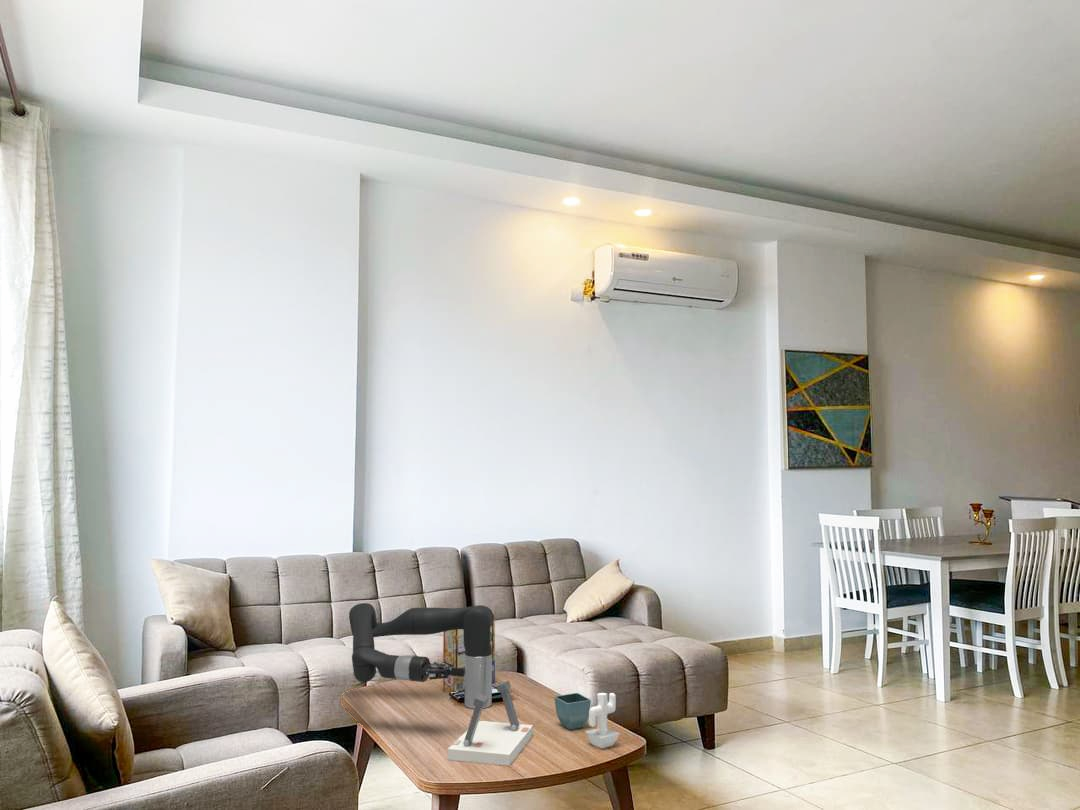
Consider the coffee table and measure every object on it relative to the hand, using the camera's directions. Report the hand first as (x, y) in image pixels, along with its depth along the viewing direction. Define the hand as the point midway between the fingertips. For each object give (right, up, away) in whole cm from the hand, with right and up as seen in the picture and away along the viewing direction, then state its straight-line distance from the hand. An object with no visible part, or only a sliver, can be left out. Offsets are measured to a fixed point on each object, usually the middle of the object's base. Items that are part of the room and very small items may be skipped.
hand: (464, 672), depth 254 cm
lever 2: (+16, -16, -5) cm, 23 cm away
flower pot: (+33, -20, +7) cm, 39 cm away
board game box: (-3, -22, +51) cm, 56 cm away
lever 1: (+2, -15, -18) cm, 23 cm away
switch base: (+9, -18, -11) cm, 23 cm away
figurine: (+42, -19, -9) cm, 47 cm away
